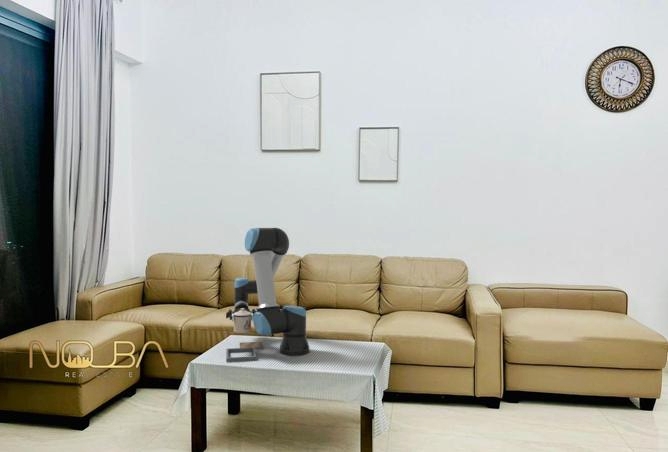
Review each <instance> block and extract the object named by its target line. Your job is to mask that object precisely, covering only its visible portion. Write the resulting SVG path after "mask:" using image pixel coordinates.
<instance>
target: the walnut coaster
mask: <svg viewBox="0 0 668 452" xmlns="http://www.w3.org/2000/svg"><path fill="white" fill-rule="evenodd" d="M263 343H264V342H263V341H248V342H239V348H251V347H254V348H255V350H259V349H261V350H262V349H264V344H263Z"/></svg>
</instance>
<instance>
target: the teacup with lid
mask: <svg viewBox="0 0 668 452" xmlns="http://www.w3.org/2000/svg"><path fill="white" fill-rule="evenodd" d="M233 332H234V333H236V334H246V333H247V334H248V333H251V332H252V321H251V313H250V312H248V311H246V310H245V309H244V308H241V310H239V311H238V312H235V313H234V320H233Z"/></svg>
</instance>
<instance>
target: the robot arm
mask: <svg viewBox="0 0 668 452" xmlns="http://www.w3.org/2000/svg"><path fill="white" fill-rule="evenodd" d="M245 234H246V235H245V237H244V248H245V250H246V252H249V256H250V257H251V258H253V264H254V272H255V273H254V274H255V280H249V278H247V277H237V278H235V279H234V285H233V286H234V304H233V305H234V306H233V307H234V310H233V309H228V311H227V312H226V313H225V318H226V319H229V320H230V321H231V322H234V313H235V312H238V311H239V310H241V308H244V309H245V310H246V311H248V312H250V313H251V322H252V323H253V326H254V329H255V331H256V332H257V334H258V335H260V336H271V335H272V336H273V335H279V334H282V338H281V339H282V340H281V342H280V345H279V353H280V354H281V355H285V356H292V357H293V356H294V357H295V356H304V355H307V354H308V353H310V345H309V342H308V339H307V311H306V308H305V307H302V306H298V305H283V307H282V309H281V306H280V304H278V303H277V300H276V291H275V289H276V288H275V283H274V277H275V275H276V273H277V270H278V268H279V267H280V264H281V262H282V260H283V257H284V256H285V255H287V253H288V251H289V248H290V238H289V236H288V234H287V232H286V231H284V230H283V229H281V228H279V227H255V228H250V229H248V231H246V233H245ZM249 295H257V299H258V306H257V307H256V308H252V309H251V310H250V308H249Z"/></svg>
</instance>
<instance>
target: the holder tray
mask: <svg viewBox="0 0 668 452" xmlns="http://www.w3.org/2000/svg"><path fill="white" fill-rule="evenodd" d="M225 349H226V352H225V353H226V356H225V359H226V363H233V362H251V361H253V362H255V361H257V354H256V349H255V348H254V347H251V348H240V347H235V348H225ZM250 352H252V355H251V356H250V355H249V356H232V357H230V356H229V354H230V353H250Z"/></svg>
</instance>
